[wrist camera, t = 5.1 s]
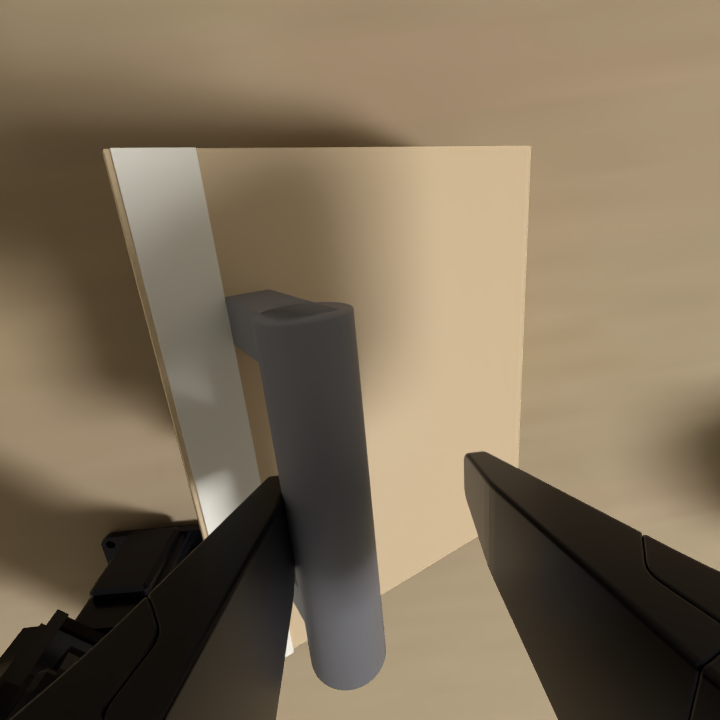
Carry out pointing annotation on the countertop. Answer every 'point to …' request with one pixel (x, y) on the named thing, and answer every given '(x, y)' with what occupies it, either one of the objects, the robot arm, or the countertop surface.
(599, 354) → the countertop surface
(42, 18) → the countertop surface
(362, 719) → the countertop surface
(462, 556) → the countertop surface
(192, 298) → the beige handled lid
